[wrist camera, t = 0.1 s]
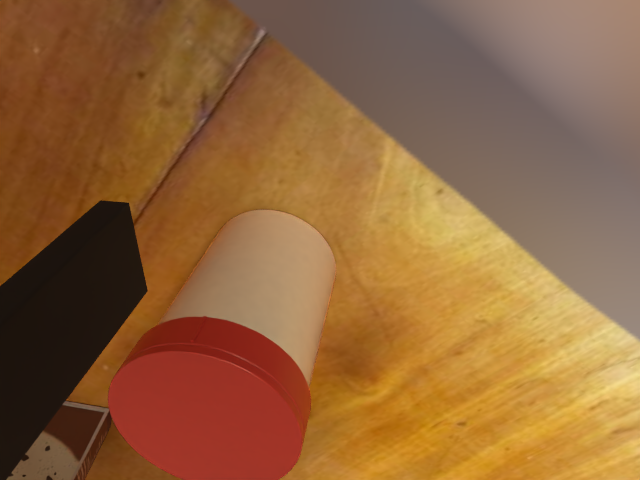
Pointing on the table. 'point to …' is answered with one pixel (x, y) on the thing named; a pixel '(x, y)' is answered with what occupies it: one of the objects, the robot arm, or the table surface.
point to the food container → (66, 444)
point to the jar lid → (211, 401)
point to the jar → (265, 282)
